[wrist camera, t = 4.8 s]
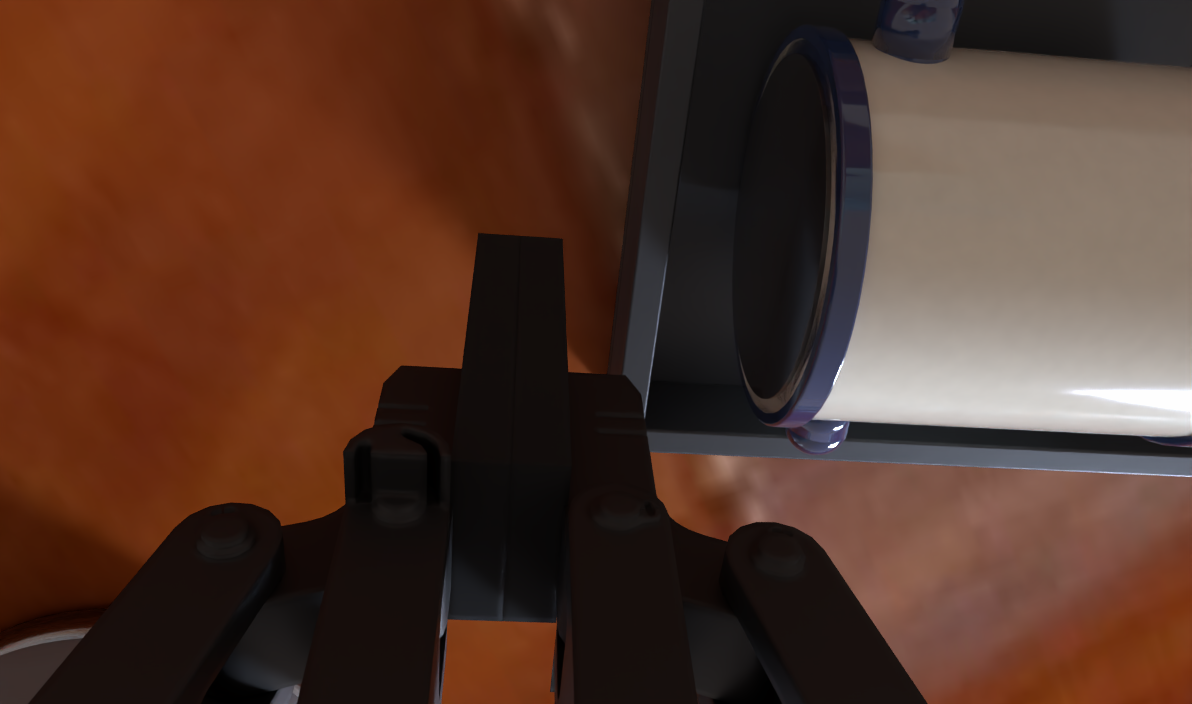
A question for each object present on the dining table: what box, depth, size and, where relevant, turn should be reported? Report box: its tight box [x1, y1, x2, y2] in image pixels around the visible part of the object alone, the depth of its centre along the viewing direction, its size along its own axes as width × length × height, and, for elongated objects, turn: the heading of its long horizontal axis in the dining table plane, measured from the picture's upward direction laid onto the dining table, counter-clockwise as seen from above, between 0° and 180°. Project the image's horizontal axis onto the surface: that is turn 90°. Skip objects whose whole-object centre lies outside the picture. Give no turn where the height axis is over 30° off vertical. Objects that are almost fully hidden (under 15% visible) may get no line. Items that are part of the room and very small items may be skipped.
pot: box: [732, 0, 1192, 455], centre depth 23 cm, size 10×12×9 cm
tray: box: [607, 0, 1192, 477], centre depth 27 cm, size 26×16×3 cm, turn 85°
